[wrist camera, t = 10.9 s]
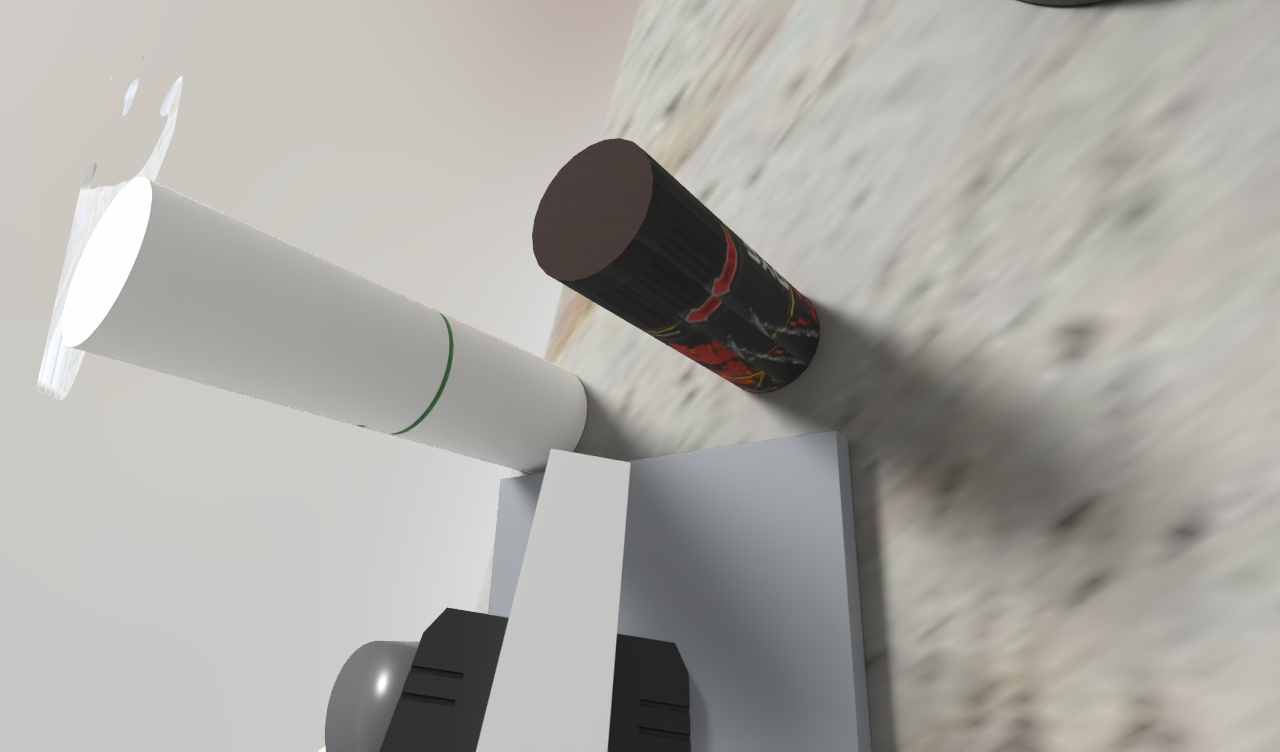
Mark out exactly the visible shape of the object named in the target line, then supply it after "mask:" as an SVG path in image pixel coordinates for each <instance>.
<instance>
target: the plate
mask: <svg viewBox="0 0 1280 752" xmlns="http://www.w3.org/2000/svg"><path fill="white" fill-rule="evenodd" d="M624 462H630V476H629V488H628V501H627V513H626V526H625V538H624V551H623V563H622V576H621V588H620V601H619V613H618V626H617V634H624V635H630V636H636V637H642V638H648V639H654V640H660V641H666V642H673V643H675V644H676V646H677V648H678V650H679V653H680V655H681V657H682V659H683V661H684V664H685V666H686V668H687V670H688V673H689V693H690V708H689V713H690V730H691V735H690V741H691V752H872V749H871V736H870V722H869V709H868V696H867V683H866V670H865V657H864V644H863V631H862V618H861V605H860V592H859V579H858V565H857V552H856V539H855V526H854V513H853V500H852V487H851V474H850V461H849V448H848V437H846V436H844V435H843V434H841V433H840V432H838V431H836V430H834V431H827V432H820V433H813V434H806V435H800V436H793V437H786V438H779V439H772V440H765V441H759V442H752V443H745V444H738V445H731V446H724V447H718V448H711V449H704V450H697V451H690V452H683V453H677V454H670V455H663V456H656V457H649V458H643V459H636V460H629V461H624ZM544 475H545V473H540V474H533V475H526V476H520V477H513V478H506V479H501V482H500V492H499V504H498V514H497V524H496V535H495V546H494V557H493V567H492V578H491V589H490V600H489V610H488V614H489V615H495V616H501V617H507V618H509V616H510V612H511V608H512V604H513V600H514V596H515V592H516V588H517V584H518V580H519V576H520V572H521V567H522V563H523V559H524V555H525V551H526V547H527V543H528V539H529V535H530V531H531V527H532V523H533V519H534V515H535V511H536V507H537V503H538V499H539V495H540V491H541V487H542V483H543V479H544Z"/></svg>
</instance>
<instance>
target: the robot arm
mask: <svg viewBox="0 0 1280 752" xmlns="http://www.w3.org/2000/svg"><path fill="white" fill-rule="evenodd" d="M1022 1H1026V2H1031V3H1038V4H1047V5H1076V4H1087V3H1095V2H1101V1H1107V0H1022ZM629 476H630V462H624V461H619V460H613V459H608V458H602V457H596V456H591V455H585V454H580V453H574V452H568V451H563V450H557V449H552V448H551V450H550V454H549V458H548V462H547V466H546V470H545V475H544V479H543V483H542V487H541V491H540V495H539V499H538V503H537V507H536V511H535V515H534V519H533V523H532V527H531V531H530V535H529V539H528V543H527V547H526V551H525V555H524V559H523V563H522V567H521V572H520V576H519V580H518V584H517V588H516V592H515V596H514V600H513V604H512V608H511V612H510V616H509V618H507V617H501V616H495V615H489V614H483V613H477V612H470V611H464V610H458V609H452V608H446V609H445V611H444V612H443V613H442V614H441V615H440V616H439V617H438V618H437V619H436V620H435V621H434V622H433V623H432V624H431V625H430V626H429V627H428V628H427V630H426V631H425V632H424V633H423V635H422V638H421V640H420V643H419V646H418V648H417V651H416V654H415V657H414V659H413V662H412V665H411V669H410V671H409V673H408V675H407V678H406V681H405V684H404V686H403V689H402V692H401V696H400V698H399V700H398V702H397V705H396V708H395V711H394V713H393V716H392V719H391V721H390V724H389V727H388V729H387V732H386V735H385V738H384V740H383V743H382V746H381V748H380V751H379V752H691V741H690V735H691V730H690V713H689V708H690V693H689V673H688V670H687V668H686V666H685V664H684V661H683V659H682V657H681V655H680V653H679V650H678V648H677V646H676V644H675V643H673V642H666V641H660V640H654V639H648V638H642V637H636V636H630V635H624V634H617V626H618V613H619V601H620V588H621V576H622V563H623V551H624V538H625V526H626V513H627V501H628V488H629Z"/></svg>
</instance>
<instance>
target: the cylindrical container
mask: <svg viewBox="0 0 1280 752" xmlns="http://www.w3.org/2000/svg"><path fill="white" fill-rule="evenodd" d="M62 336H63V340H64V342H65V344H66V345H67V346H69V347H72V348H76V349H79V350H83V351H86V352H90V353H94V354H98V355H101V356H105V357H109V358H112V359H116V360H120V361H123V362H126V363H130V364H134V365H138V366H141V367H145V368H149V369H152V370H156V371H160V372H163V373H167V374H170V375H174V376H178V377H181V378H185V379H188V380H192V381H196V382H200V383H203V384H207V385H210V386H214V387H218V388H221V389H225V390H228V391H232V392H236V393H240V394H243V395H247V396H250V397H254V398H258V399H261V400H265V401H268V402H272V403H276V404H279V405H283V406H287V407H291V408H294V409H298V410H302V411H305V412H309V413H312V414H316V415H320V416H323V417H327V418H331V419H334V420H338V421H341V422H345V423H349V424H352V425H357V426H360V427H363V428H367V429H370V430H374V431H378V432H381V433H385V434H389V435H392V436H396V437H400V438H403V439H407V440H410V441H414V442H418V443H422V444H425V445H429V446H432V447H436V448H440V449H444V450H447V451H451V452H454V453H458V454H461V455H465V456H469V457H472V458H476V459H480V460H483V461H487V462H491V463H494V464H498V465H501V466H505V467H509V468H512V469H516V470H520V471H523V472H527V473H532V474H540V473H545V470H546V466H547V462H548V458H549V454H550V450H551V448H552V449H557V450H563V451H568V452H573V451H574V449H575V448H576V446H577V444H578V442H579V440H580V438H581V436H582V433H583V430H584V427H585V423H586V418H587V398H586V394H585V390H584V387H583V385H582V384H581V382H580V380H579V379H578V378H577V376H576V375H575V374H574V373H572V372H570V371H569V370H567V369H565V368H563V367H561V366H558V365H556V364H554V363H552V362H550V361H547V360H545V359H543V358H541V357H538V356H536V355H534V354H532V353H530V352H528V351H525V350H523V349H521V348H519V347H517V346H514V345H512V344H510V343H508V342H506V341H503V340H501V339H499V338H497V337H494V336H492V335H490V334H488V333H486V332H484V331H481V330H479V329H477V328H475V327H472V326H470V325H468V324H466V323H464V322H461V321H459V320H457V319H455V318H453V317H451V316H448V315H446V314H444V313H442V312H440V311H437V310H435V309H433V308H431V307H428V306H426V305H424V304H422V303H420V302H418V301H415V300H413V299H411V298H409V297H407V296H404V295H402V294H400V293H398V292H396V291H393V290H391V289H389V288H387V287H385V286H382V285H380V284H378V283H376V282H374V281H371V280H369V279H367V278H365V277H363V276H360V275H358V274H356V273H354V272H352V271H349V270H347V269H345V268H343V267H340V266H339V265H336V264H334V263H332V262H330V261H328V260H325V259H323V258H321V257H319V256H317V255H314V254H312V253H310V252H308V251H306V250H303V249H301V248H299V247H297V246H295V245H292V244H290V243H288V242H286V241H284V240H281V239H279V238H277V237H275V236H273V235H270V234H268V233H266V232H264V231H262V230H259V229H257V228H255V227H253V226H251V225H248V224H246V223H244V222H242V221H240V220H238V219H235V218H233V217H231V216H229V215H227V214H224V213H222V212H220V211H218V210H216V209H213V208H211V207H209V206H207V205H205V204H202V203H200V202H198V201H196V200H194V199H191V198H189V197H187V196H185V195H183V194H181V193H178V192H176V191H174V190H172V189H170V188H167V187H165V186H163V185H161V184H159V183H156V182H154V181H152V180H150V179H148V178H146V177H139V178H137V179H134V180H133V181H132V182H130V183H129V184H128V185H127V186H126V187H125V188H124V189H123V190H122V191H121V192H120V193H119V194H118V195H117V197H116V198H115V199H114V201H113V202H112V203H111V204H110V206H109V207H108V209H107V210H106V212H105V213H104V215H103V216H102V218H101V220H100V222H99V223H98V225H97V227H96V228H95V230H94V232H93V234H92V236H91V238H90V240H89V242H88V244H87V246H86V248H85V250H84V252H83V255H82V257H81V259H80V261H79V264H78V266H77V269H76V271H75V274H74V277H73V280H72V283H71V286H70V289H69V292H68V296H67V299H66V303H65V308H64V313H63V320H62Z"/></svg>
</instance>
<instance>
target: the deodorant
mask: <svg viewBox="0 0 1280 752" xmlns="http://www.w3.org/2000/svg"><path fill="white" fill-rule="evenodd" d="M532 239H533V251H534V254H535V257H536V259H537V262H538V265H539V266H540V267H541V268H542V269H543V270H544V272H545V273H546V274H547V275H549V276H551V277H552V278H554V279H556V280H558V281H559V282H561V283H563V284H564V285H566V286H568V287H569V288H571V289H573V290H574V291H576V292H578V293H580V294H581V295H583V296H585V297H586V298H588V299H590V300H592V301H593V302H595V303H597V304H598V305H600V306H602V307H603V308H605V309H607V310H609V311H610V312H612V313H614V314H615V315H617V316H619V317H620V318H622V319H624V320H626V321H627V322H629V323H631V324H632V325H634V326H636V327H638V328H639V329H641V330H643V331H644V332H646V333H648V334H649V335H651V336H653V337H655V338H656V339H658V340H660V341H661V342H663V343H665V344H666V345H668V346H670V347H672V348H673V349H675V350H677V351H678V352H680V353H682V354H683V355H685V356H687V357H689V358H690V359H692V360H694V361H695V362H697V363H699V364H701V365H702V366H704V367H706V368H707V369H709V370H711V371H712V372H714V373H716V374H718V375H719V376H721V377H723V378H724V379H726V380H728V381H729V382H731V383H733V384H735V385H736V386H738V387H740V388H742V389H744V390H746V391H751V392H757V393H762V392H771V391H774V390H777V389H779V388H782V387H785V386H786V385H788V384H789V383H791V382H792V381H794V380H795V379H796V378H798V377H799V376H800V375H801V373H802V372H803V371H804V370H805V369H806V368H807V367H808V365H809V363H810V362H811V360H812V358H813V356H814V354H815V352H816V349H817V345H818V341H819V321H818V317H817V314H816V311H815V310H814V308H813V306H812V305H811V303H810V302H809V301H808V300H807V299H806V298H805V297H804V296H803V295H802V294H801V293H800V292H798V291H797V290H796V289H795V288H794V287H793V286H792V285H791V284H790V283H789V282H788V281H786V280H785V279H784V278H783V277H782V276H781V275H780V274H779V273H778V272H777V271H776V270H774V269H773V268H772V267H771V266H770V265H769V264H768V263H767V262H766V261H765V260H763V259H762V258H761V257H760V256H759V255H758V254H757V253H756V252H755V251H754V250H753V249H751V248H750V247H749V246H748V245H747V244H746V243H745V242H744V241H743V240H742V239H740V238H739V237H738V236H737V235H736V234H735V233H734V232H733V231H732V230H731V229H730V228H728V227H727V226H726V225H725V224H724V223H723V222H722V221H721V220H720V219H719V218H717V217H716V216H715V215H714V214H713V213H712V212H711V211H710V210H709V209H708V208H707V207H705V206H704V205H703V204H702V203H701V202H700V201H699V200H698V199H697V198H696V197H694V196H693V195H692V194H691V193H690V192H689V191H688V190H687V189H686V188H685V187H684V186H682V185H681V184H680V183H679V182H678V181H677V180H676V179H675V178H674V177H673V176H671V175H670V174H669V173H668V172H667V171H666V170H665V169H664V168H663V167H662V166H661V165H659V164H658V163H657V162H656V161H655V160H654V159H653V158H652V157H651V156H650V155H648V154H647V153H646V152H645V151H644V150H643V149H642V148H640V147H639V146H638V145H636V144H635V143H634V142H632V141H628V140H624V139H620V138H618V139H608V140H603V141H601V142H598V143H596V144H593V145H591V146H589V147H587V148H586V149H584V150H583V151H581V152H580V153H578V154H577V155H575V156H574V157H573V158H572V159H571V160H570V161H569V162H568V163H567V164H566V165H565V166H564V167H563V168H562V169H561V170H560V171H559V172H558V174H557V175H556V176H555V178H554V179H553V180H552V182H551V183H550V184H549V186H548V188H547V190H546V192H545V194H544V196H543V198H542V199H541V201H540V205H539V207H538V210H537V213H536V216H535V220H534V227H533V233H532Z"/></svg>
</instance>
